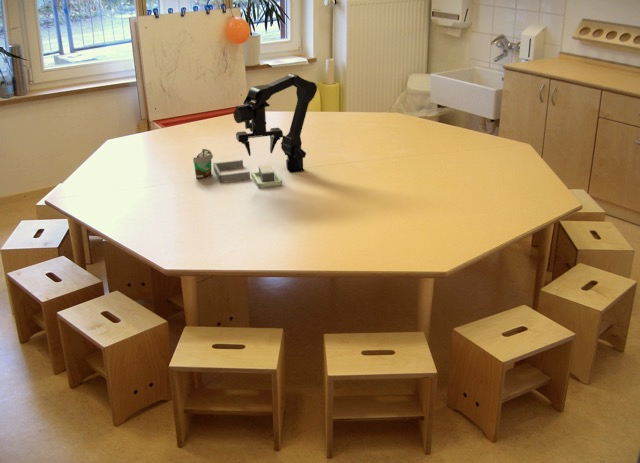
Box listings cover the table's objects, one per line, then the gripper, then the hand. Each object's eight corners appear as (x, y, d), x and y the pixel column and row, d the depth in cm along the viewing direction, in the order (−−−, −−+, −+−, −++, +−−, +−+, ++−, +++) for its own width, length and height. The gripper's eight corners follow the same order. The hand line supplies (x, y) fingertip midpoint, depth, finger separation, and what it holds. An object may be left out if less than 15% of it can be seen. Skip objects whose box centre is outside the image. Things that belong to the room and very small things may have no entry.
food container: (208, 181, 322) (206, 158, 318) (195, 180, 324) (192, 158, 319) (218, 170, 333) (216, 149, 329) (204, 170, 334) (202, 148, 330)
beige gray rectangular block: (270, 175, 326) (270, 164, 323) (274, 182, 318) (274, 171, 315) (259, 176, 325) (258, 165, 322) (262, 184, 317) (262, 172, 314)
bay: (242, 166, 338) (242, 159, 337) (250, 178, 324) (249, 172, 323) (213, 169, 335) (213, 163, 333) (219, 182, 321) (219, 175, 320)
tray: (274, 174, 329) (274, 169, 328) (282, 185, 316) (282, 181, 316) (251, 176, 326) (251, 172, 325) (258, 188, 314) (258, 184, 313)
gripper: (275, 110, 321) (276, 146, 328) (231, 115, 316) (234, 151, 322) (282, 117, 311) (284, 154, 318) (237, 122, 306) (240, 159, 313)
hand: (260, 154), depth 318 cm, fingers open, 9 cm apart
